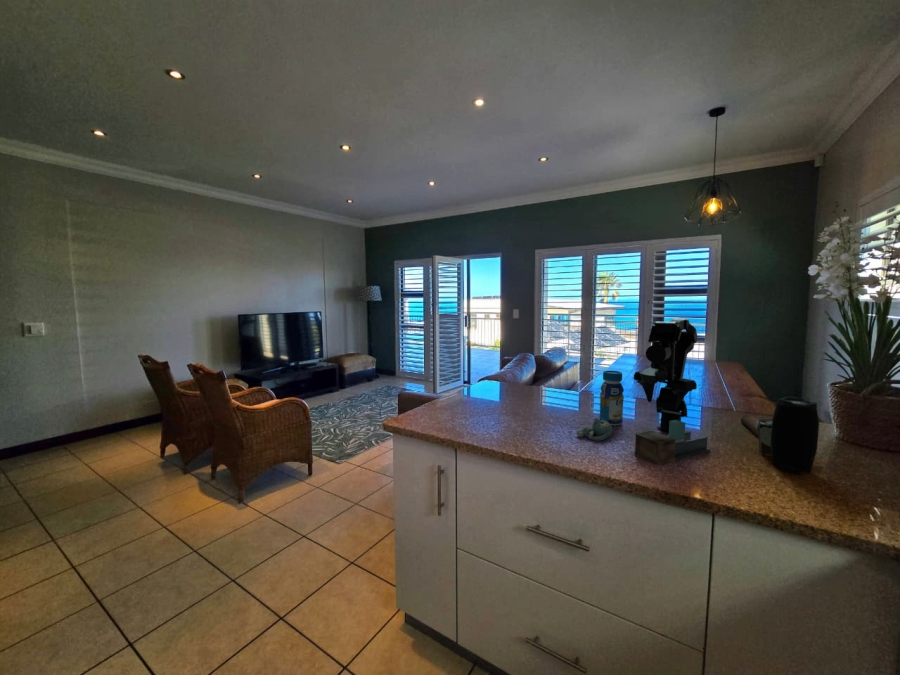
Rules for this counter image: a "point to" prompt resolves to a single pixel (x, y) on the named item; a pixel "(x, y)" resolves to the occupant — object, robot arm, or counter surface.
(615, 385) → the beverage bottle
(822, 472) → the counter surface
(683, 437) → the teal angled piece
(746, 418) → the sunglasses case
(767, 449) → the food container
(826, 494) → the counter surface
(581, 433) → the stuffed animal
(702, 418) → the counter surface
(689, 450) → the sleeve channel
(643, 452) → the socket block
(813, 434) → the portable speaker
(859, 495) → the counter surface
